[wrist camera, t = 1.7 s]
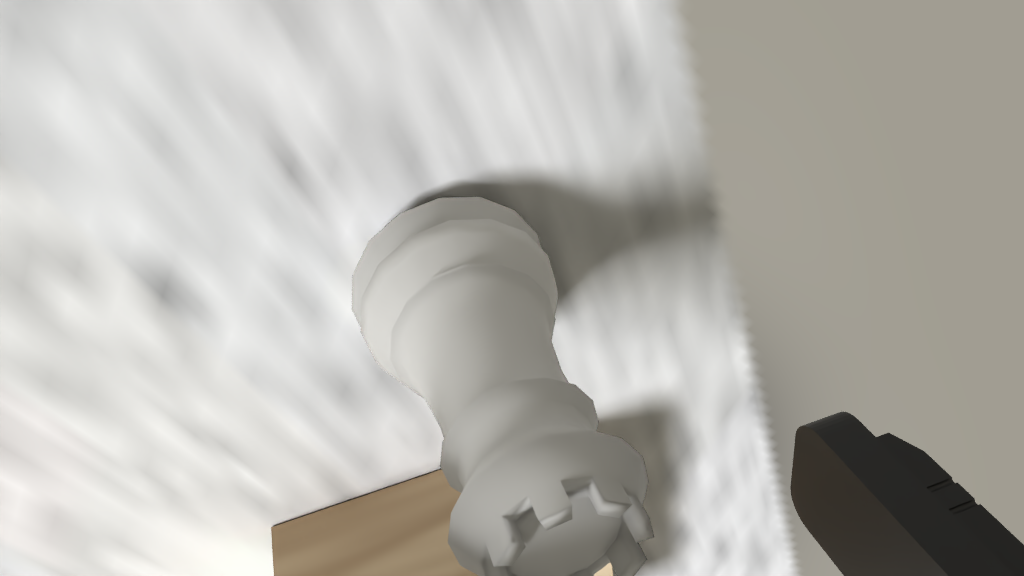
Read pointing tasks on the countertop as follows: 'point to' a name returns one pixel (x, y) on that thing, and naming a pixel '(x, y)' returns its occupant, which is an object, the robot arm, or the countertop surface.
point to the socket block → (377, 535)
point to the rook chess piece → (499, 393)
